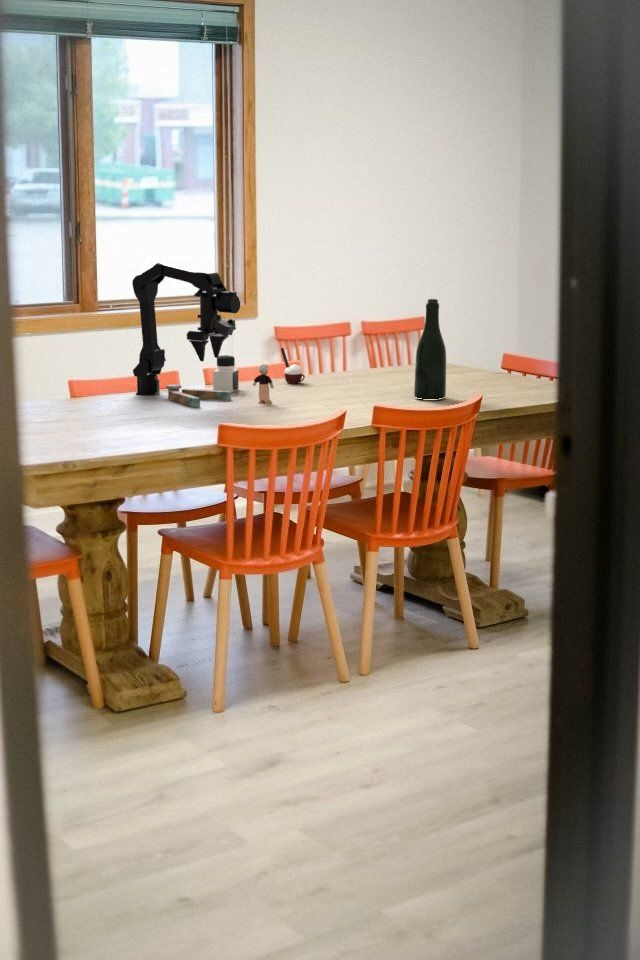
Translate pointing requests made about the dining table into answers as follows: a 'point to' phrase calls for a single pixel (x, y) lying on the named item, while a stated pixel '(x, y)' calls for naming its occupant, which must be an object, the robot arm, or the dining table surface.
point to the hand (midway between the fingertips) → (209, 359)
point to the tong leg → (184, 398)
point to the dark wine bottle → (430, 357)
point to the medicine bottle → (225, 374)
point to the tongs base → (202, 393)
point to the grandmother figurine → (263, 384)
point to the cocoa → (292, 371)
